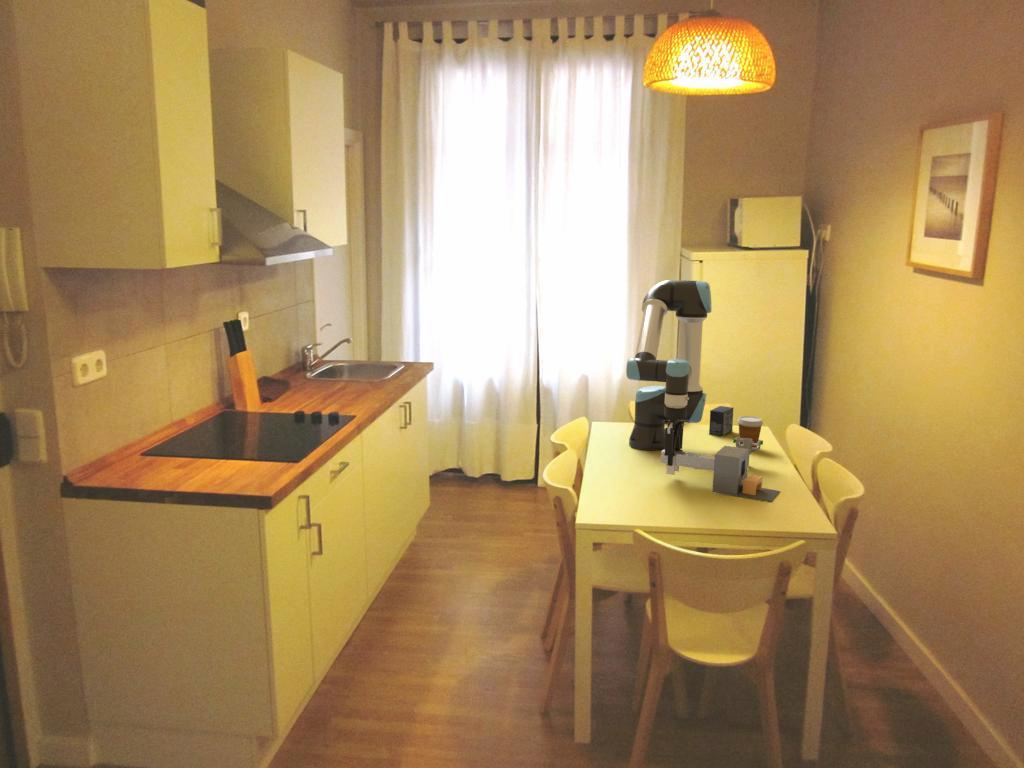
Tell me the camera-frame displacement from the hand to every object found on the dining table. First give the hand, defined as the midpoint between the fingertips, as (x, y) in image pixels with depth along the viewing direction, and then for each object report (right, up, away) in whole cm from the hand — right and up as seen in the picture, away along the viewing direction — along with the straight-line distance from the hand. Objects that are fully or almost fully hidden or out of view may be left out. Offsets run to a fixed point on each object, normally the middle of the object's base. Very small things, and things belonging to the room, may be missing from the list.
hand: (672, 472), depth 290 cm
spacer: (+24, -5, -12) cm, 27 cm away
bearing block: (+17, -5, -9) cm, 20 cm away
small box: (+32, +10, +63) cm, 71 cm away
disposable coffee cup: (+37, +5, +40) cm, 55 cm away
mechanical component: (+30, 0, +18) cm, 35 cm away
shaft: (+8, +2, -5) cm, 10 cm away
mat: (+25, -6, -13) cm, 29 cm away
